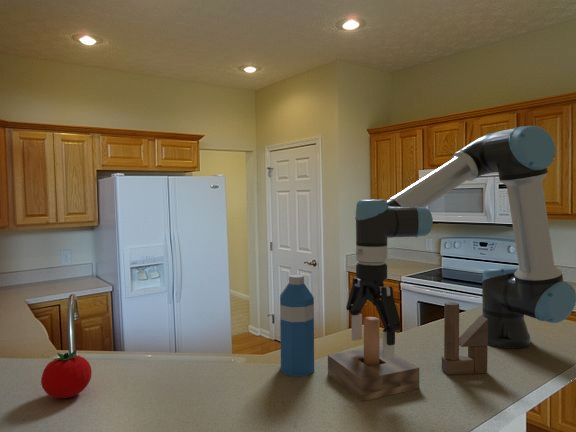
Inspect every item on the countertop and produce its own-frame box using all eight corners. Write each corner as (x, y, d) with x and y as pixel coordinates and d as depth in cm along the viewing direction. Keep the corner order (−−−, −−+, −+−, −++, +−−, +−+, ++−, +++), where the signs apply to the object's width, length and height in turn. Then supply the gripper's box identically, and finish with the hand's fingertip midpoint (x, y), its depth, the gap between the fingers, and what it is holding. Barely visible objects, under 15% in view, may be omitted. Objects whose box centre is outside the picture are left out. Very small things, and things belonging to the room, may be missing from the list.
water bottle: (318, 364, 114) (318, 273, 113) (309, 378, 106) (308, 280, 104) (286, 360, 117) (285, 272, 116) (274, 374, 109) (273, 278, 108)
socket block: (379, 363, 114) (379, 345, 114) (419, 388, 100) (419, 367, 99) (327, 373, 108) (327, 354, 108) (361, 401, 93) (361, 379, 93)
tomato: (58, 385, 103) (57, 345, 103) (100, 385, 103) (99, 345, 102) (31, 406, 93) (29, 362, 92) (77, 407, 92) (76, 362, 92)
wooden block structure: (487, 373, 108) (488, 304, 107) (447, 375, 107) (447, 305, 106) (480, 367, 111) (480, 300, 110) (441, 369, 110) (441, 301, 110)
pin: (373, 370, 106) (373, 316, 106) (382, 376, 103) (382, 320, 102) (360, 373, 105) (360, 317, 104) (369, 379, 101) (369, 322, 101)
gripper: (333, 257, 113) (333, 335, 114) (389, 271, 90) (389, 369, 91) (357, 255, 116) (357, 331, 117) (417, 269, 93) (417, 363, 94)
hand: (371, 348), depth 104 cm, fingers open, 13 cm apart
